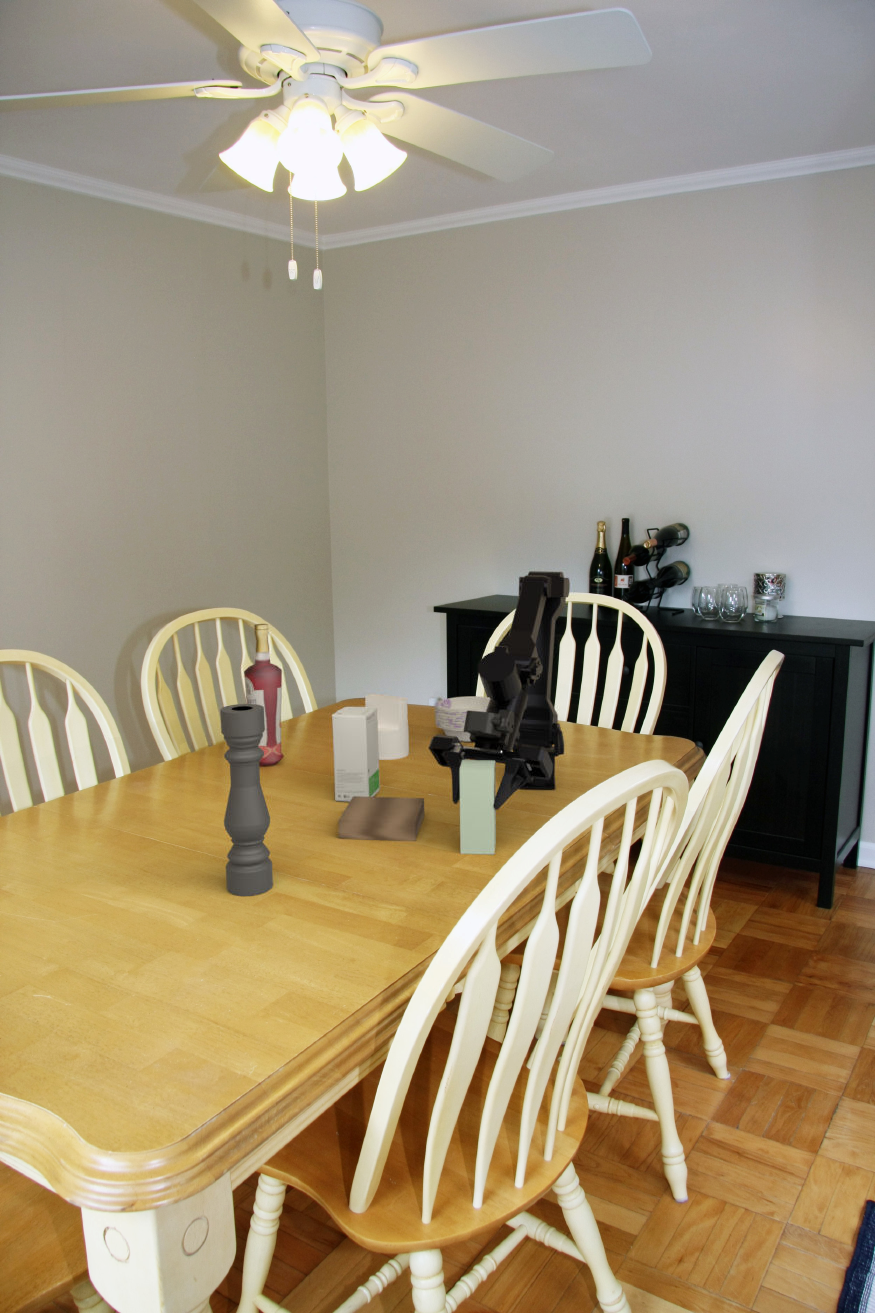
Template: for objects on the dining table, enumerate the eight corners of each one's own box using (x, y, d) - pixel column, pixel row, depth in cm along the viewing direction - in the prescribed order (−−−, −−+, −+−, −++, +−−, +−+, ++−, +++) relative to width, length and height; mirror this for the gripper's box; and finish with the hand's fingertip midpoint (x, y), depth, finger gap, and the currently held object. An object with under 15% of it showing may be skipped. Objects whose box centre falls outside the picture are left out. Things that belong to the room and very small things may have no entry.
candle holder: (251, 900, 126) (243, 715, 122) (217, 890, 129) (208, 710, 125) (282, 883, 131) (275, 706, 127) (248, 874, 134) (241, 701, 130)
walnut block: (424, 815, 159) (424, 798, 158) (415, 841, 147) (415, 822, 147) (353, 813, 160) (353, 796, 160) (338, 838, 148) (338, 820, 148)
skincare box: (368, 804, 165) (366, 716, 162) (331, 801, 166) (329, 714, 164) (380, 789, 173) (379, 705, 171) (346, 787, 174) (344, 704, 172)
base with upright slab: (417, 751, 198) (416, 695, 196) (392, 762, 191) (391, 703, 189) (382, 746, 203) (381, 691, 201) (356, 755, 196) (355, 698, 194)
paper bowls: (431, 730, 217) (431, 696, 215) (497, 727, 218) (497, 693, 217) (439, 747, 202) (438, 711, 201) (509, 744, 203) (509, 708, 202)
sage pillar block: (495, 842, 146) (495, 760, 144) (494, 854, 141) (493, 769, 139) (463, 841, 147) (462, 760, 145) (460, 853, 142) (459, 769, 140)
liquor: (291, 764, 190) (286, 625, 185) (257, 770, 186) (251, 628, 181) (275, 756, 196) (270, 621, 191) (242, 762, 192) (236, 624, 187)
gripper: (433, 683, 148) (400, 771, 140) (547, 693, 139) (519, 787, 131) (455, 722, 156) (425, 807, 148) (564, 734, 148) (538, 824, 140)
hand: (474, 805), depth 142 cm, fingers closed on sage pillar block, 6 cm apart
